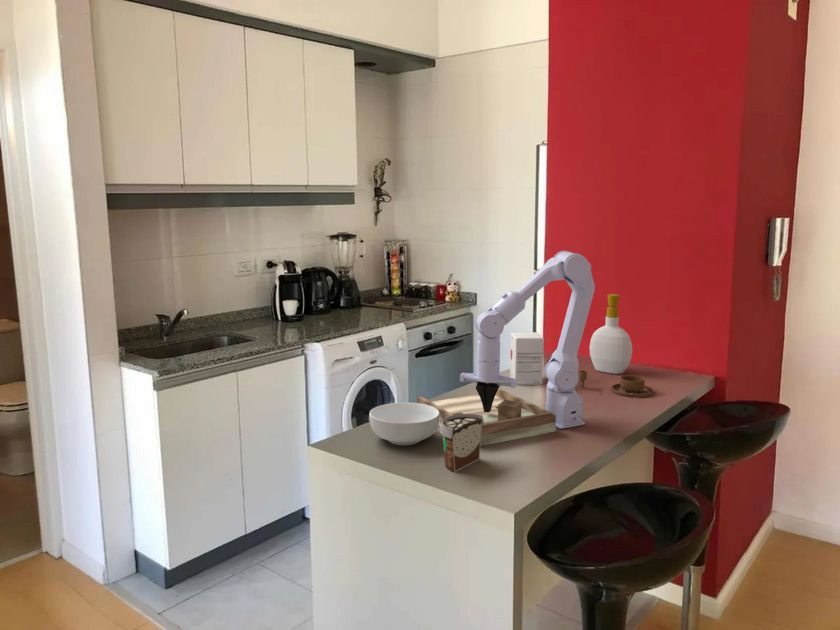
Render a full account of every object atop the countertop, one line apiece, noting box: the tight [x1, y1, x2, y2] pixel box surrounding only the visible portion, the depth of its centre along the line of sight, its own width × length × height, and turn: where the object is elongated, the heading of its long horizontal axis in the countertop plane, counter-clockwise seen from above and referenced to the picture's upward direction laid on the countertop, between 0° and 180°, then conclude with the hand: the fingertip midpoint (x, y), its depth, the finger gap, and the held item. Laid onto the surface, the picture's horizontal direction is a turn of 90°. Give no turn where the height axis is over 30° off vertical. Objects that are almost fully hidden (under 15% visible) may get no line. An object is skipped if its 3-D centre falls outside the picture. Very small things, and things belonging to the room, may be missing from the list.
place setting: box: [578, 369, 654, 398], centre depth 209 cm, size 18×20×6 cm
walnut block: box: [498, 400, 521, 421], centre depth 173 cm, size 4×4×4 cm
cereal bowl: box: [368, 402, 440, 446], centre depth 166 cm, size 17×17×7 cm
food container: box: [439, 414, 484, 473], centre depth 152 cm, size 12×6×10 cm, turn 141°
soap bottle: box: [589, 293, 633, 375], centre depth 228 cm, size 14×9×26 cm, turn 52°
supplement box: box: [509, 331, 545, 386], centre depth 217 cm, size 9×9×15 cm
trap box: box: [416, 388, 556, 447], centre depth 179 cm, size 29×24×5 cm
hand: (487, 411), depth 178 cm, fingers closed
